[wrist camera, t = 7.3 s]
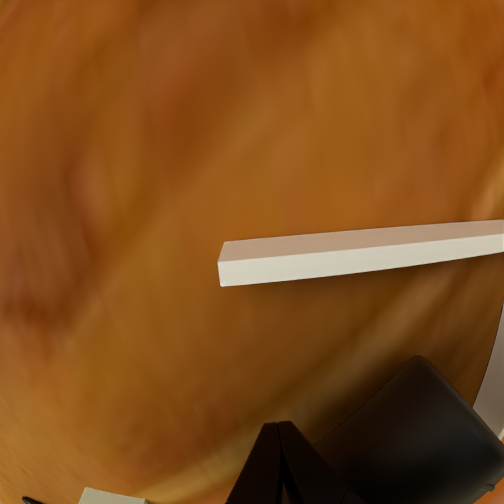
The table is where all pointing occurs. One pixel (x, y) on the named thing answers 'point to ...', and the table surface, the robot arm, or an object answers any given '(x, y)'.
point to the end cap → (415, 444)
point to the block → (107, 498)
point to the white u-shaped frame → (370, 259)
